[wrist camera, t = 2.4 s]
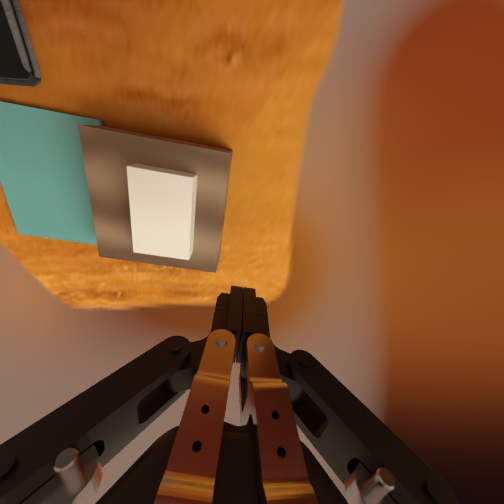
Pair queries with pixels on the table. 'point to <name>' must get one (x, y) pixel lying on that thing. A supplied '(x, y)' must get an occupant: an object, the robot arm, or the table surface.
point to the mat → (45, 173)
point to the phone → (16, 48)
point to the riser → (163, 156)
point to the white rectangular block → (162, 210)
